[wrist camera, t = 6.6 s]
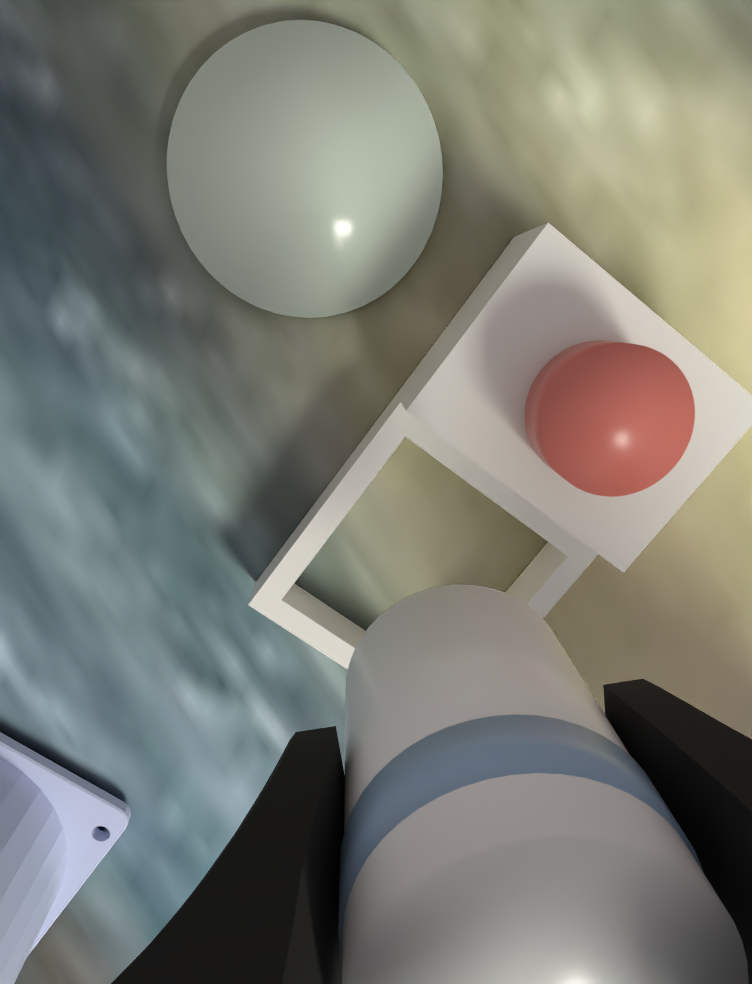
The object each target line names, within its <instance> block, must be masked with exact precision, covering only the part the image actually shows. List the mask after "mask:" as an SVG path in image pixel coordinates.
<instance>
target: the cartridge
mask: <svg viewBox="0 0 752 984" xmlns="http://www.w3.org/2000/svg"><path fill="white" fill-rule="evenodd" d="M338 936H339V948H340V956H341V960H342V963H343V971H342V984H748V983H749V982H748V966H747V959H746V954H745V950H744V946H743V942H742V939H741V937H740V935H739V932H738V930H737V928H736V925H735V923H734V921H733V919H732V918H731V916H730V915H729V913H728V911H727V910H726V908H725V907H724V905H723V903H722V902H721V900H720V899H719V897H718V895H717V894H716V892H715V891H714V889H713V887H712V886H711V884H710V883H709V881H708V879H707V878H706V876H705V875H704V873H703V869H702V866H701V864H700V861H699V859H698V857H697V855H696V852H695V850H694V848H693V847H692V845H691V843H690V842H689V840H688V839H687V837H686V835H685V834H684V832H683V831H682V829H681V828H680V826H679V824H678V823H677V821H676V820H675V818H674V817H673V815H672V813H671V812H670V810H669V809H668V807H667V806H666V804H665V802H664V801H663V799H662V798H661V796H660V794H659V793H658V791H657V790H656V788H655V787H654V785H653V783H652V782H651V780H650V779H649V777H648V776H647V774H646V773H645V771H644V770H643V769H642V768H641V767H640V766H639V765H638V763H637V762H636V761H635V760H634V759H633V758H632V757H631V756H630V754H629V753H628V751H627V749H626V748H625V746H624V745H623V743H622V741H621V740H620V738H619V737H618V735H617V733H616V732H615V730H614V729H613V727H612V725H611V724H610V722H609V721H608V719H607V717H606V716H605V714H604V713H603V711H602V709H601V708H600V706H599V705H598V703H597V701H596V700H595V698H594V697H593V695H592V693H591V692H590V690H589V689H588V687H587V685H586V684H585V682H584V681H583V679H582V677H581V676H580V674H579V673H578V671H577V669H576V668H575V666H574V664H573V663H572V661H571V660H570V658H569V656H568V655H567V653H566V652H565V650H564V648H563V647H562V645H561V644H560V642H559V640H558V639H557V637H556V636H555V634H554V633H553V631H552V629H551V628H550V626H549V625H548V624H547V623H546V621H545V620H544V619H543V618H542V617H541V616H540V615H539V614H538V613H537V612H536V611H535V610H534V609H532V608H531V607H530V606H529V605H527V604H526V603H524V602H523V601H521V600H519V599H518V598H516V597H514V596H512V595H509V594H507V593H505V592H502V591H499V590H496V589H493V588H489V587H484V586H478V585H466V584H458V585H445V586H440V587H434V588H430V589H427V590H424V591H421V592H417V593H415V594H413V595H411V596H409V597H406V598H404V599H402V600H401V601H399V602H397V603H396V604H394V605H393V606H391V607H390V608H388V609H387V610H386V611H385V612H383V613H382V614H381V615H380V616H379V617H378V618H377V619H376V620H375V621H374V622H373V623H372V624H371V625H370V626H369V627H368V629H367V630H366V631H365V633H364V634H363V636H362V637H361V639H360V640H359V642H358V644H357V646H356V648H355V650H354V652H353V655H352V657H351V660H350V663H349V667H348V672H347V677H346V704H345V793H344V835H343V839H342V844H341V853H340V871H339V925H338Z"/></svg>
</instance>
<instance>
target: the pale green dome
mask: <svg viewBox="0 0 752 984" xmlns="http://www.w3.org/2000/svg"><path fill="white" fill-rule="evenodd" d="M167 180H168V187H169V194H170V199H171V203H172V207H173V210H174V214H175V217H176V219H177V222H178V224H179V227H180V229H181V232H182V234H183V236H184V238H185V240H186V241H187V243H188V245H189V247H190V249H191V250H192V252H193V253H194V254H195V256H196V257H197V259H198V260H199V261H200V263H201V264H202V266H203V267H204V268H205V269H206V270H207V271H208V272H209V273H210V274H211V275H212V276H213V277H214V279H216V280H217V281H218V282H219V283H220V284H221V285H223V286H224V287H225V288H226V289H227V290H229V291H230V292H232V293H233V294H235V295H236V296H238V297H239V298H241V299H242V300H244V301H246V302H248V303H250V304H252V305H254V306H256V307H258V308H261V309H264V310H267V311H270V312H273V313H276V314H280V315H286V316H291V317H302V318H317V317H329V316H333V315H338V314H342V313H346V312H349V311H351V310H354V309H357V308H360V307H362V306H364V305H366V304H368V303H370V302H371V301H373V300H375V299H377V298H378V297H380V296H381V295H383V294H384V293H385V292H387V291H388V290H390V289H391V288H392V287H393V286H394V285H395V284H396V283H397V282H398V281H399V280H400V279H402V278H403V277H404V275H405V274H406V273H407V272H408V271H409V269H410V268H411V267H412V266H413V265H414V263H415V262H416V260H417V259H418V257H419V256H420V254H421V252H422V251H423V249H424V248H425V245H426V243H427V241H428V239H429V237H430V235H431V233H432V230H433V227H434V224H435V221H436V218H437V215H438V211H439V206H440V201H441V195H442V183H443V165H442V153H441V147H440V141H439V136H438V133H437V129H436V126H435V123H434V119H433V117H432V114H431V112H430V110H429V107H428V105H427V103H426V101H425V99H424V97H423V95H422V94H421V92H420V90H419V89H418V87H417V85H416V84H415V82H414V81H413V80H412V78H411V77H410V76H409V74H408V73H407V72H406V71H405V69H404V68H403V67H402V66H401V65H400V64H399V63H398V62H397V61H396V60H395V59H394V58H393V57H392V56H391V55H390V54H389V53H388V52H386V51H385V50H384V49H382V48H381V47H380V46H378V45H377V44H376V43H374V42H373V41H371V40H369V39H367V38H366V37H364V36H362V35H360V34H358V33H357V32H354V31H352V30H349V29H346V28H344V27H341V26H338V25H334V24H330V23H325V22H321V21H311V20H290V21H280V22H275V23H271V24H266V25H262V26H260V27H257V28H255V29H252V30H250V31H247V32H245V33H243V34H241V35H240V36H238V37H236V38H234V39H232V40H231V41H229V42H228V43H226V44H225V45H224V46H223V47H221V48H220V49H219V50H217V51H216V52H215V53H214V54H213V55H212V56H211V57H210V58H209V59H208V60H207V61H206V62H205V63H204V64H203V65H202V66H201V67H200V69H199V70H198V71H197V73H196V74H195V76H194V77H193V78H192V80H191V81H190V83H189V84H188V86H187V88H186V90H185V92H184V94H183V95H182V97H181V99H180V102H179V104H178V107H177V110H176V112H175V115H174V118H173V121H172V126H171V130H170V134H169V139H168V149H167Z"/></svg>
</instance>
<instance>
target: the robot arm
mask: <svg viewBox="0 0 752 984" xmlns="http://www.w3.org/2000/svg"><path fill="white" fill-rule="evenodd" d="M603 687H604V701H605V716H606V717H607V719H608V721H609V722H610V724H611V725H612V727H613V729H614V730H615V732H616V733H617V735H618V737H619V738H620V740H621V741H622V743H623V745H624V746H625V748H626V749H627V751H628V753H629V754H630V756H631V757H632V758H633V759H634V760H635V761H636V762H637V763H638V765H639V766H640V767H641V768H642V769H643V770H644V771H645V773H646V774H647V776H648V777H649V779H650V780H651V782H652V783H653V785H654V787H655V788H656V790H657V791H658V793H659V794H660V796H661V798H662V799H663V801H664V802H665V804H666V806H667V807H668V809H669V810H670V812H671V813H672V815H673V817H674V818H675V820H676V821H677V823H678V824H679V826H680V828H681V829H682V831H683V832H684V834H685V835H686V837H687V839H688V840H689V842H690V843H691V845H692V847H693V848H694V850H695V852H696V855H697V857H698V859H699V861H700V864H701V866H702V869H703V873H704V875H705V876H706V878H707V879H708V881H709V883H710V884H711V886H712V887H713V889H714V891H715V892H716V894H717V895H718V897H719V899H720V900H721V902H722V903H723V905H724V907H725V908H726V910H727V911H728V913H729V915H730V916H731V918H732V919H733V921H734V923H735V925H736V928H737V930H738V932H739V935H740V937H741V939H742V942H743V946H744V950H745V954H746V959H747V966H748V982H749V983H748V984H752V739H750V738H748V737H746V736H744V735H743V734H741V733H739V732H737V731H735V730H733V729H732V728H730V727H728V726H726V725H725V724H723V723H721V722H719V721H717V720H716V719H714V718H712V717H710V716H709V715H707V714H705V713H704V712H702V711H700V710H698V709H697V708H695V707H693V706H691V705H690V704H688V703H686V702H684V701H683V700H681V699H679V698H677V697H676V696H674V695H672V694H670V693H669V692H667V691H665V690H663V689H662V688H660V687H658V686H656V685H654V684H652V683H650V682H648V681H646V680H644V679H639V680H632V681H626V682H619V683H613V684H606V685H603ZM344 793H345V775H344V770H343V764H342V759H341V753H340V748H339V742H338V737H337V731H336V726H333V727H327V728H320V729H314V730H307V731H301V732H296V733H295V734H294V735H293V737H292V738H291V739H290V741H289V743H288V745H287V746H286V748H285V750H284V752H283V754H282V756H281V758H280V760H279V761H278V763H277V765H276V767H275V769H274V770H273V772H272V774H271V776H270V777H269V779H268V781H267V783H266V784H265V786H264V788H263V790H262V791H261V793H260V795H259V796H258V798H257V799H256V801H255V803H254V804H253V806H252V807H251V809H250V811H249V812H248V814H247V815H246V817H245V819H244V820H243V822H242V823H241V825H240V827H239V828H238V830H237V831H236V833H235V834H234V836H233V837H232V839H231V840H230V841H229V843H228V844H227V846H226V847H225V849H224V850H223V851H222V853H221V854H220V856H219V857H218V858H217V860H216V861H215V863H214V864H213V865H212V867H211V868H210V870H209V871H208V873H207V874H206V875H205V877H204V878H203V879H202V881H201V882H200V883H199V885H198V886H197V887H196V889H195V890H194V891H193V893H192V894H191V895H190V896H189V898H188V899H187V900H186V901H185V903H184V904H183V905H182V906H181V908H180V909H179V910H178V911H177V913H176V914H175V915H174V916H173V917H172V919H171V920H170V921H169V922H168V923H167V924H166V926H165V927H164V928H163V929H162V930H161V932H160V933H159V934H158V935H157V936H156V937H155V939H154V940H153V941H152V942H151V943H150V944H149V945H148V946H147V948H146V949H145V950H144V951H143V952H142V953H141V954H140V955H139V956H138V957H137V958H136V959H135V960H134V961H133V962H132V963H131V964H130V965H129V966H128V967H127V968H126V969H125V970H124V971H123V972H122V973H121V974H120V975H119V976H118V977H117V978H116V979H115V980H114V981H113V982H112V983H111V984H342V971H343V963H342V960H341V956H340V948H339V936H338V925H339V871H340V853H341V844H342V839H343V835H344ZM130 817H131V810H130V809H129V807H128V805H127V804H125V803H124V802H123V801H121V800H120V799H118V798H116V797H114V796H112V795H111V794H109V793H107V792H105V791H104V790H102V789H100V788H98V787H96V786H95V785H93V784H91V783H89V782H88V781H86V780H84V779H82V778H81V777H79V776H77V775H75V774H73V773H72V772H70V771H68V770H66V769H65V768H63V767H61V766H59V765H57V764H56V763H54V762H52V761H50V760H49V759H47V758H45V757H43V756H42V755H40V754H38V753H36V752H34V751H33V750H31V749H29V748H27V747H26V746H24V745H22V744H20V743H18V742H17V741H15V740H13V739H11V738H10V737H8V736H6V735H4V734H2V733H1V732H0V984H14V982H15V980H16V978H17V976H18V974H19V972H20V970H21V968H22V966H23V964H24V962H25V960H26V958H27V956H28V955H29V954H30V953H31V951H32V950H33V949H34V947H35V946H36V945H37V943H38V942H39V941H40V940H41V938H42V937H43V936H44V934H45V933H46V932H47V930H48V929H49V928H50V926H51V925H52V924H53V923H54V921H55V920H56V919H57V917H58V916H59V915H60V913H61V912H62V911H63V910H64V908H65V907H66V906H67V904H68V903H69V902H70V900H71V899H72V898H73V897H74V895H75V894H76V893H77V891H78V890H79V889H80V887H81V886H82V885H83V884H84V882H85V881H86V880H87V878H88V877H89V876H90V874H91V873H92V872H93V871H94V869H95V868H96V867H97V865H98V864H99V863H100V861H101V860H102V859H103V857H104V856H105V855H106V854H107V852H108V851H109V850H110V848H111V847H112V846H113V844H114V843H115V842H116V841H117V839H118V838H119V837H120V835H121V834H122V833H123V831H124V830H125V829H126V827H127V824H128V822H129V820H130ZM97 826H103V827H106V828H107V829H108V830H109V831H107V832H104V831H101V830H100V829H98V828H97Z"/></svg>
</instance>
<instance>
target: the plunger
mask: <svg viewBox="0 0 752 984" xmlns="http://www.w3.org/2000/svg"><path fill="white" fill-rule="evenodd" d="M694 421H695V405H694V398H693V394H692V390H691V388H690V385H689V383H688V381H687V379H686V377H685V375H684V374H683V372H682V371H681V370H680V368H679V367H678V366H677V365H676V364H675V363H674V362H673V361H672V360H671V359H670V358H668V357H667V356H665V355H664V354H663V353H661V352H659V351H657V350H655V349H652V348H649V347H646V346H642V345H637V344H631V343H623V342H615V341H606V340H595V341H587V342H583V343H579V344H576V345H573V346H571V347H569V348H567V349H565V350H563V351H561V352H560V353H559V354H557V355H556V356H554V357H553V358H552V359H551V360H550V361H549V362H547V364H546V365H545V366H544V367H543V368H542V369H541V371H540V372H539V373H538V375H537V376H536V378H535V380H534V382H533V384H532V385H531V388H530V391H529V393H528V397H527V401H526V406H525V426H526V432H527V435H528V438H529V441H530V443H531V445H532V448H533V449H534V451H535V452H536V454H537V455H538V456H539V458H540V459H541V460H542V461H543V462H544V463H545V464H546V465H547V466H549V467H550V468H551V469H552V470H554V471H555V472H556V473H557V474H559V475H560V476H561V477H562V478H564V479H565V480H566V481H568V482H569V483H570V484H572V485H573V486H575V487H576V488H578V489H580V490H583V491H585V492H588V493H591V494H594V495H599V496H609V497H615V496H624V495H629V494H633V493H636V492H639V491H642V490H644V489H646V488H648V487H650V486H652V485H654V484H655V483H657V482H658V481H660V480H661V479H662V478H663V477H665V476H666V475H667V474H668V473H669V472H670V471H671V470H672V469H673V468H674V467H675V465H676V464H677V463H678V462H679V460H680V459H681V457H682V456H683V454H684V452H685V451H686V448H687V446H688V444H689V442H690V439H691V436H692V432H693V427H694Z"/></svg>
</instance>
